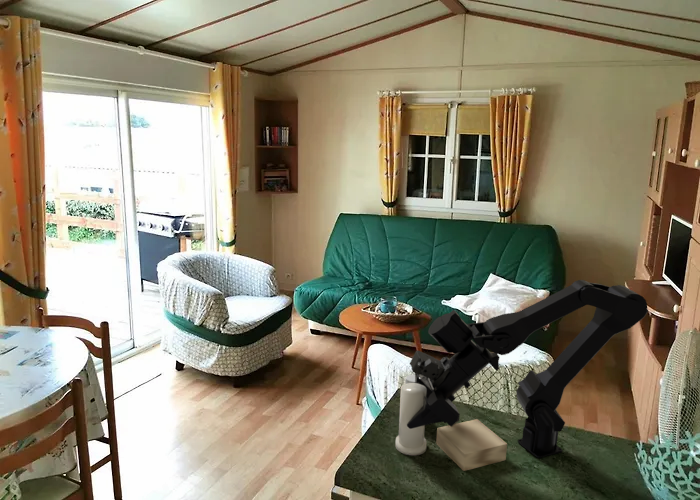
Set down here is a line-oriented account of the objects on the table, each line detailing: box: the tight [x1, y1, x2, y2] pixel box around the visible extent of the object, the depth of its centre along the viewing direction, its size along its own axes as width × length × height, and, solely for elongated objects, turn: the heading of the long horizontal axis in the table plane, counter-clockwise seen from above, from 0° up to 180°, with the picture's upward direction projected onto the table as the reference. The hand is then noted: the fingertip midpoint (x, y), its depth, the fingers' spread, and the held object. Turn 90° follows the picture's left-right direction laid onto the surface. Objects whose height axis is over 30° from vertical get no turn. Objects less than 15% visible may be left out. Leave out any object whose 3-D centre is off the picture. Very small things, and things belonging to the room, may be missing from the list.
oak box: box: [435, 418, 508, 472], centre depth 110 cm, size 10×10×4 cm
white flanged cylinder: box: [395, 383, 428, 456], centre depth 111 cm, size 6×6×13 cm
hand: (405, 417), depth 111 cm, fingers open, 7 cm apart
